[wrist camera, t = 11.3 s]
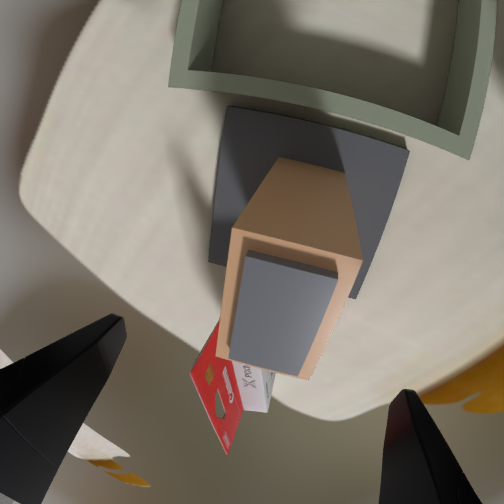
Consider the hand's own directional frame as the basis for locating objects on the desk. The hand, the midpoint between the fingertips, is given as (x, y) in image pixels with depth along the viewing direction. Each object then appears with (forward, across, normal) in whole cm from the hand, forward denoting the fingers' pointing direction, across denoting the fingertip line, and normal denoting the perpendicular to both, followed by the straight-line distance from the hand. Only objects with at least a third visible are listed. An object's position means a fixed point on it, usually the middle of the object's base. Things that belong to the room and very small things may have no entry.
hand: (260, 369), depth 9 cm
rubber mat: (+13, 0, 0) cm, 13 cm away
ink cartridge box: (+13, +1, +11) cm, 17 cm away
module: (+12, 0, 0) cm, 12 cm away
